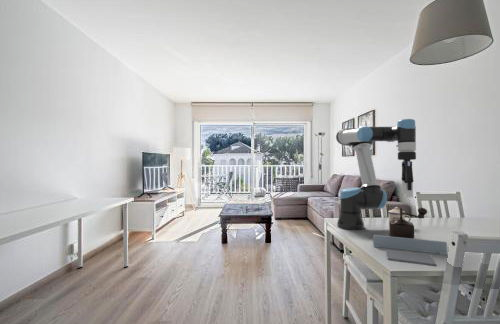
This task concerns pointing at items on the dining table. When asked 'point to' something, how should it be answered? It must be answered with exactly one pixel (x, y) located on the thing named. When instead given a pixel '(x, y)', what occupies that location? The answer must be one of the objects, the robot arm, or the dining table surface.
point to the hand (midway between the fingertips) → (407, 195)
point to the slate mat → (410, 257)
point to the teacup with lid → (396, 214)
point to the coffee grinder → (404, 225)
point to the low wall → (410, 244)
